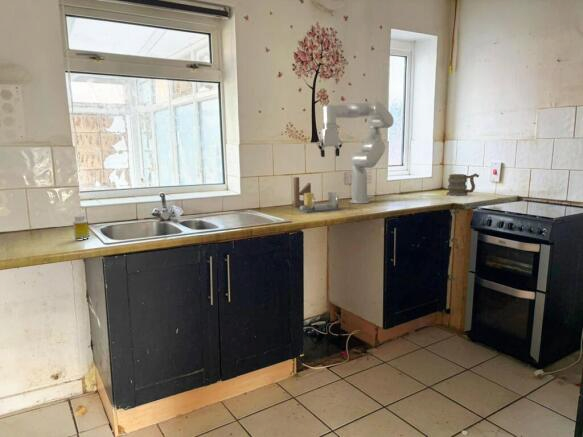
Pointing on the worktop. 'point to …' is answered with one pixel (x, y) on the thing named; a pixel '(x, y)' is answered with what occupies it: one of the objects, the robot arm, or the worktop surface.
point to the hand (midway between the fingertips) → (330, 156)
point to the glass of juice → (80, 227)
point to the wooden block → (306, 189)
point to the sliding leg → (309, 200)
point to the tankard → (460, 184)
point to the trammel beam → (331, 201)
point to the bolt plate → (319, 209)
